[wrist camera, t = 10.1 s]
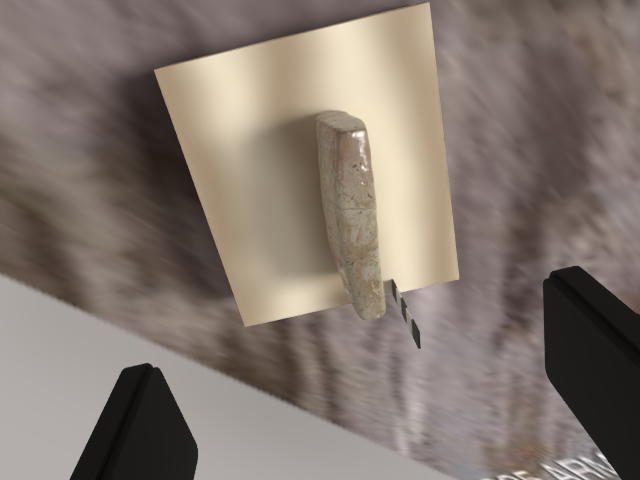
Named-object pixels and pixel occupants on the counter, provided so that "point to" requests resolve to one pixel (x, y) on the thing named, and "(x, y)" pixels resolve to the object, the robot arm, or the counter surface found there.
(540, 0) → the counter surface
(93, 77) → the counter surface
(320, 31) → the birch block
